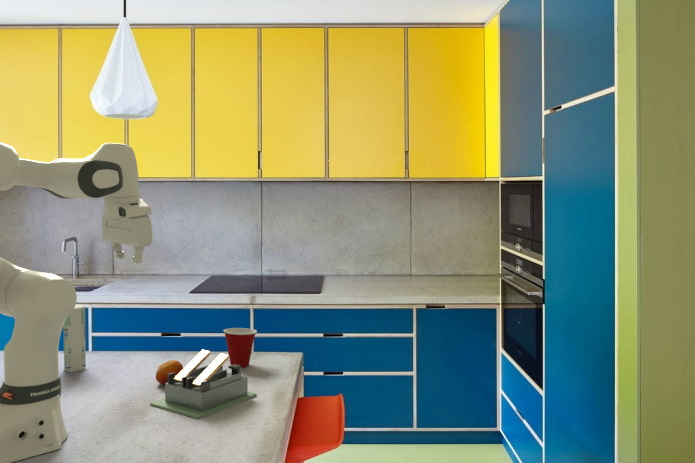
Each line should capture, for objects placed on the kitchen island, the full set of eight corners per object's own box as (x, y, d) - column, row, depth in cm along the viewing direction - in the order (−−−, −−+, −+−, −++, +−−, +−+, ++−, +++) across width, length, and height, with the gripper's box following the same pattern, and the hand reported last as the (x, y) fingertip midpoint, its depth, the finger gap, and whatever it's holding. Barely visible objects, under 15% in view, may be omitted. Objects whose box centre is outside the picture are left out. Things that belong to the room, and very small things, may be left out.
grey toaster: (202, 412, 165) (202, 381, 165) (165, 401, 173) (164, 372, 172) (247, 394, 179) (247, 366, 179) (211, 385, 187) (211, 358, 186)
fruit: (182, 384, 186) (168, 359, 186) (160, 396, 187) (147, 372, 188) (194, 376, 193) (181, 352, 194) (173, 387, 195) (160, 364, 195)
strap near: (200, 388, 167) (199, 385, 167) (193, 386, 169) (191, 383, 168) (229, 357, 176) (228, 355, 175) (221, 356, 177) (220, 353, 177)
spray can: (88, 369, 204) (87, 307, 202) (66, 373, 200) (64, 309, 199) (83, 365, 209) (82, 304, 208) (62, 368, 206) (60, 306, 204)
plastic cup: (263, 364, 212) (264, 328, 211) (241, 372, 203) (241, 334, 202) (239, 359, 218) (239, 324, 217) (216, 366, 209) (216, 330, 208)
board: (197, 419, 162) (197, 416, 162) (150, 405, 172) (150, 402, 172) (256, 395, 180) (256, 393, 180) (210, 384, 190) (210, 382, 190)
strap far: (182, 383, 171) (180, 380, 170) (174, 381, 172) (173, 378, 172) (210, 353, 179) (209, 351, 179) (203, 352, 181) (202, 349, 180)
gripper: (93, 206, 169) (99, 258, 171) (130, 211, 154) (136, 267, 157) (116, 203, 173) (121, 253, 175) (154, 208, 159) (160, 262, 161)
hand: (128, 260), depth 166 cm, fingers open, 8 cm apart
